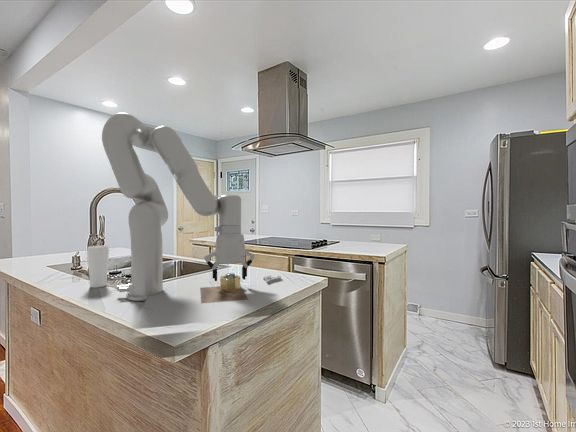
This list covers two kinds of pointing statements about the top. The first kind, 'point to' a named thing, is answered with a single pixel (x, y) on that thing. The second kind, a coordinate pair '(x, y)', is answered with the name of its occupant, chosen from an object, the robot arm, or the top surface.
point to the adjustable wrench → (271, 279)
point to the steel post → (230, 276)
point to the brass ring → (229, 283)
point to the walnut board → (221, 295)
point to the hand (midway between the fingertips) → (229, 279)
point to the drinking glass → (98, 265)
